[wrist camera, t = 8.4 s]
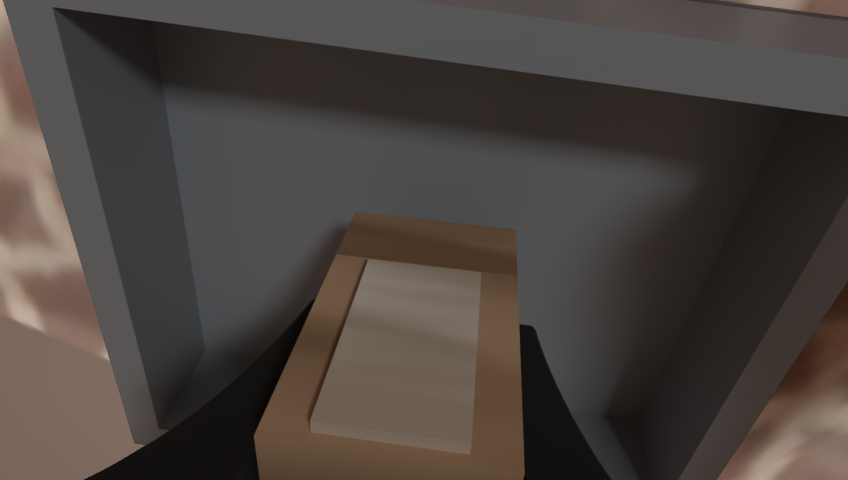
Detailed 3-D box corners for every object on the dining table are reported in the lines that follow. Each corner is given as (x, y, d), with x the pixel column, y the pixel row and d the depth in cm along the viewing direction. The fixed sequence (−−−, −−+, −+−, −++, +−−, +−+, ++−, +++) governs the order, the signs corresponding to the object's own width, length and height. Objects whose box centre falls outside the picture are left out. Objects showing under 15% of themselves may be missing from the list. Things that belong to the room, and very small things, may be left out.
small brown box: (494, 351, 16) (490, 615, 10) (355, 333, 17) (273, 581, 11) (517, 221, 14) (527, 462, 8) (355, 202, 14) (252, 423, 8)
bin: (866, 20, 13) (982, 76, 10) (653, 431, 22) (679, 535, 19) (107, -80, 14) (-14, -57, 11) (188, 356, 23) (134, 443, 19)
